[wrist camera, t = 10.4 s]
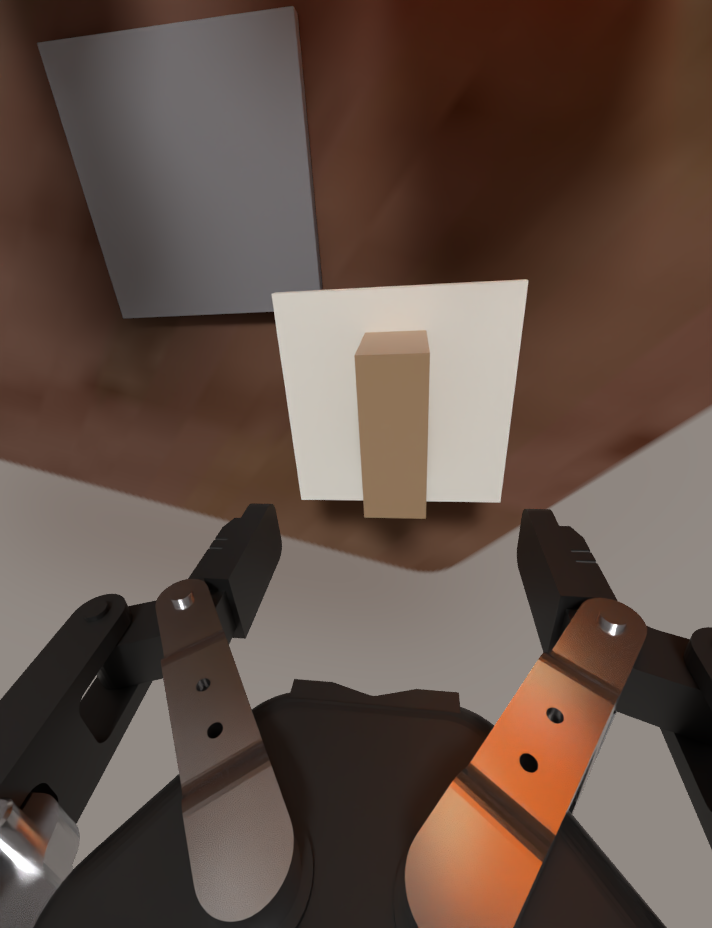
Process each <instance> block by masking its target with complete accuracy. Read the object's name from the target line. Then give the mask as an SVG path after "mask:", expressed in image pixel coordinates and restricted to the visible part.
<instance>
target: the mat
mask: <svg viewBox="0 0 712 928" xmlns="http://www.w3.org/2000/svg"><path fill="white" fill-rule="evenodd" d="M37 45H38V48H39V51H40V55H41V58H42V61H43V64H44V67H45V71H46V74H47V77H48V80H49V83H50V87H51V90H52V93H53V96H54V99H55V102H56V106H57V109H58V112H59V115H60V118H61V122H62V125H63V128H64V131H65V134H66V138H67V141H68V144H69V147H70V150H71V154H72V157H73V160H74V163H75V166H76V170H77V173H78V176H79V179H80V182H81V185H82V189H83V192H84V195H85V198H86V201H87V205H88V208H89V211H90V214H91V217H92V221H93V224H94V227H95V230H96V233H97V237H98V240H99V243H100V246H101V249H102V252H103V256H104V259H105V262H106V265H107V268H108V272H109V275H110V278H111V281H112V284H113V288H114V291H115V294H116V297H117V300H118V304H119V307H120V310H121V313H122V316H123V319H124V318H146V317H167V316H189V315H211V314H232V313H254V312H274V308H273V301H272V295H271V294H272V293H275V292H293V291H312V290H323V288H322V277H321V266H320V255H319V244H318V233H317V222H316V211H315V200H314V189H313V178H312V167H311V156H310V145H309V134H308V123H307V112H306V101H305V90H304V79H303V68H302V57H301V46H300V35H299V24H298V14H297V12H296V10H295V8H294V6H289V7H282V8H275V9H268V10H261V11H254V12H247V13H240V14H233V15H226V16H220V17H213V18H206V19H199V20H192V21H185V22H178V23H171V24H164V25H157V26H150V27H143V28H136V29H129V30H122V31H115V32H109V33H102V34H95V35H88V36H81V37H74V38H67V39H60V40H53V41H46V42H39V43H37Z"/></svg>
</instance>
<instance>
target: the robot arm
mask: <svg viewBox="0 0 712 928" xmlns="http://www.w3.org/2000/svg"><path fill="white" fill-rule="evenodd" d="M281 550H282V541H281V535H280V530H279V525H278V520H277V515H276V510H275V507H274V505H273V504H250V505H249V506H248V507H247V509H246V510H245V512H244V514H243V515H242V517H241V518H234V519H233V520H231V521H230V522H229V523H228V524H226V525H225V526H224V527H222V529H221V531H220V532H219V533H218V535H217V536H216V540H214V541H213V543H212V544H211V546H210V549H208V550H207V552H206V553H205V554H204V556H203V558H202V559H201V561H200V562H199V564H198V565H197V567H196V568H195V569H194V571H193V573H192V574H191V575H190V577H189V578H188V579H186V580H182V581H179V582H177V583H174V584H172V585H171V586H169V587H168V588H166V589H165V590H164V591H163V592H162V593H161V594H160V596H159V597H158V598H157V600H156V601H152V602H147V603H142V604H137V605H133V606H128V605H127V603H126V601H125V599H124V598H123V597H122V596H120V595H117V594H106V595H102V596H99V597H96V598H94V599H91V600H90V601H88V602H86V603H84V604H83V605H82V606H80V607H79V608H78V609H77V610H76V611H75V612H74V613H73V614H72V615H71V617H70V618H69V619H68V620H67V621H66V622H65V624H64V625H63V626H62V627H61V628H60V630H59V631H58V632H57V633H56V634H55V636H54V637H53V638H52V639H51V640H50V641H49V643H48V644H47V645H46V646H45V648H44V649H43V650H42V651H41V652H40V654H39V655H38V656H37V657H36V658H35V659H34V661H33V662H32V663H31V664H30V665H29V667H28V668H27V669H26V670H25V671H24V672H23V674H22V675H21V676H20V677H19V678H18V680H17V681H16V682H15V683H14V684H13V686H12V687H11V688H10V689H9V690H8V692H7V693H6V694H5V695H4V696H3V698H2V699H1V700H0V928H666V926H665V925H664V924H663V923H662V922H661V920H660V919H659V918H658V917H657V916H656V914H655V913H654V912H653V911H652V910H651V909H650V907H649V906H648V905H647V904H646V903H645V901H644V900H643V899H642V898H641V897H640V895H639V894H638V893H637V892H636V891H635V889H634V888H633V887H632V886H631V884H630V883H629V882H628V881H627V880H626V878H625V877H624V876H623V875H622V874H621V873H620V871H619V870H618V869H617V868H616V866H615V865H614V864H613V863H612V862H611V861H610V859H609V858H608V857H607V856H606V855H605V854H604V852H603V851H602V850H601V849H600V847H599V846H598V845H597V844H596V843H595V841H594V840H593V839H592V838H591V837H590V835H589V834H588V833H587V832H586V831H585V830H584V828H583V827H582V826H581V825H580V824H579V822H578V821H577V820H576V819H575V818H574V816H573V812H574V810H575V808H576V805H577V803H578V801H579V798H580V796H581V794H582V791H583V789H584V786H585V784H586V782H587V779H588V777H589V774H590V772H591V770H592V767H593V765H594V763H595V760H596V758H597V756H598V754H599V751H600V749H601V747H602V744H603V742H604V740H605V738H606V735H607V733H608V731H609V729H610V726H611V724H612V721H613V719H614V717H615V715H616V713H617V712H620V713H623V714H625V715H628V716H631V717H633V718H636V719H639V720H642V721H644V722H647V723H650V724H652V725H655V726H658V727H660V729H661V731H662V734H663V736H664V738H665V741H666V743H667V745H668V748H669V750H670V752H671V755H672V757H673V759H674V762H675V764H676V767H677V769H678V771H679V774H680V776H681V778H682V781H683V783H684V785H685V788H686V790H687V792H688V795H689V797H690V799H691V802H692V804H693V806H694V809H695V811H696V813H697V816H698V818H699V820H700V823H701V825H702V827H703V830H704V832H705V835H706V837H707V839H708V841H709V844H710V846H711V849H712V628H709V627H708V628H701V629H698V630H696V631H695V632H694V633H693V634H692V636H691V638H690V639H687V638H683V637H680V636H676V635H672V634H669V633H665V632H662V631H659V630H656V629H653V628H650V627H648V626H646V624H645V622H644V621H643V619H642V618H641V617H640V616H639V615H638V614H637V613H636V612H635V611H634V610H633V609H631V608H630V607H628V606H626V605H625V604H623V603H620V602H618V601H617V599H616V597H615V595H614V593H613V592H612V590H611V588H610V586H609V584H608V582H607V580H606V579H605V577H604V575H603V573H602V571H601V570H600V568H599V566H598V564H597V563H596V560H595V558H594V557H593V555H592V553H590V549H589V547H588V545H587V544H586V542H585V540H584V538H583V537H582V536H580V535H579V534H578V533H577V532H576V531H575V530H574V529H572V528H571V527H570V526H559V525H558V523H557V521H556V519H555V516H554V514H553V512H552V511H551V510H550V509H524V510H523V513H522V519H521V526H520V532H519V540H518V547H517V563H518V568H519V572H520V575H521V579H522V582H523V585H524V589H525V592H526V595H527V599H528V602H529V605H530V609H531V612H532V615H533V618H534V622H535V626H536V629H537V632H538V636H539V639H540V642H541V645H542V649H543V652H544V653H543V654H542V655H541V656H540V658H539V659H538V661H537V662H536V664H535V665H534V667H533V668H532V670H531V672H530V673H529V674H528V676H527V677H526V679H525V681H524V682H523V683H522V685H521V687H520V688H519V689H518V691H517V693H516V694H515V696H514V697H513V699H512V700H511V702H510V703H509V705H508V706H507V708H506V709H505V711H504V712H503V714H502V715H501V717H500V718H499V720H498V721H497V723H496V724H495V726H494V725H493V724H491V723H490V722H489V721H487V720H485V719H484V718H483V717H481V716H479V715H478V714H476V713H474V712H471V711H470V710H467V709H465V708H462V707H460V702H459V693H457V692H445V691H433V690H421V689H414V690H409V691H403V692H397V693H391V694H385V695H379V696H370V695H367V694H364V693H361V692H359V691H356V690H353V689H350V688H347V687H345V686H342V685H339V684H336V683H333V682H323V681H311V680H310V681H309V680H298V679H294V682H293V686H292V689H291V693H286V694H282V695H279V696H276V697H274V698H271V699H269V700H267V701H265V702H263V703H261V704H260V705H258V706H256V707H255V708H253V709H252V710H251V707H250V704H249V701H248V698H247V695H246V693H245V690H244V687H243V684H242V681H241V678H240V676H239V673H238V670H237V667H236V664H235V661H234V658H233V656H232V653H231V650H230V647H229V643H230V641H231V639H232V638H246V636H247V634H248V632H249V629H250V627H251V625H252V622H253V620H254V618H255V615H256V613H257V611H258V608H259V606H260V604H261V601H262V599H263V596H264V594H265V592H266V589H267V587H268V585H269V582H270V580H271V578H272V576H273V573H274V571H275V569H276V566H277V564H278V561H279V559H280V556H281ZM96 675H97V678H96V679H95V680H94V682H93V683H92V685H91V687H90V688H89V689H88V691H87V693H86V694H85V696H84V697H83V699H82V700H81V698H82V696H83V694H84V693H85V691H86V690H87V688H88V687H89V685H90V684H91V682H92V680H93V679H94V678H95V676H96ZM162 678H163V680H164V686H165V692H166V698H167V703H168V710H169V716H170V721H171V727H172V733H173V739H174V745H175V751H176V757H177V763H178V769H179V775H177V776H176V777H175V778H174V779H173V780H172V781H171V782H169V784H167V785H166V786H165V787H164V788H163V789H162V790H161V791H159V792H158V793H157V794H156V795H155V796H154V797H153V798H152V799H151V800H149V801H148V802H147V803H146V804H145V805H144V806H143V807H142V808H140V809H139V810H138V811H137V812H136V813H135V814H134V815H133V816H132V817H131V818H129V819H128V820H127V821H126V822H125V823H124V824H123V825H121V826H120V827H119V828H118V829H117V830H116V831H115V832H114V833H112V834H111V835H110V836H109V837H108V838H107V839H106V840H105V841H104V842H102V843H101V844H100V845H99V846H98V847H97V848H96V849H95V850H93V851H92V852H91V853H90V854H89V855H88V856H87V857H86V858H85V859H84V860H83V861H82V862H81V863H80V864H78V865H77V866H76V867H75V868H74V869H73V866H72V864H73V861H74V859H75V856H76V854H77V851H78V847H79V840H80V835H79V829H78V827H77V825H76V823H77V821H78V819H79V818H80V816H81V814H82V812H83V810H84V808H85V807H86V805H87V803H88V801H89V799H90V797H91V795H92V793H93V792H94V790H95V788H96V786H97V784H98V782H99V780H100V778H101V776H102V775H103V773H104V771H105V769H106V767H107V765H108V763H109V761H110V760H111V758H112V756H113V754H114V752H115V750H116V748H117V746H118V745H119V743H120V741H121V739H122V737H123V735H124V733H125V731H126V729H127V728H128V725H129V724H130V722H131V720H132V718H133V716H134V715H135V713H136V711H137V709H138V707H139V705H140V703H141V701H142V700H143V697H144V696H145V694H146V692H147V690H148V688H149V686H150V685H151V683H152V681H153V680H158V679H162ZM80 701H81V702H80ZM72 869H73V870H72Z"/></svg>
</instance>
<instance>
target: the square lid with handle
mask: <svg viewBox="0 0 712 928" xmlns="http://www.w3.org/2000/svg"><path fill="white" fill-rule="evenodd" d="M527 288H528V280H526V279H522V280H503V281H484V282H465V283H446V284H427V285H408V286H389V287H370V288H350V289H331V290H312V291H293V292H275V293H272V294H271V295H272V301H273V308H274V315H275V322H276V329H277V336H278V342H279V349H280V356H281V363H282V370H283V377H284V383H285V390H286V397H287V404H288V411H289V418H290V424H291V431H292V438H293V445H294V452H295V459H296V465H297V472H298V479H299V486H300V493H301V500H363V504H364V518H415V519H426V501H437V502H500V500H501V492H502V484H503V477H504V469H505V461H506V453H507V445H508V437H509V430H510V422H511V414H512V406H513V398H514V390H515V382H516V375H517V367H518V359H519V351H520V343H521V335H522V327H523V320H524V312H525V304H526V296H527Z"/></svg>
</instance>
